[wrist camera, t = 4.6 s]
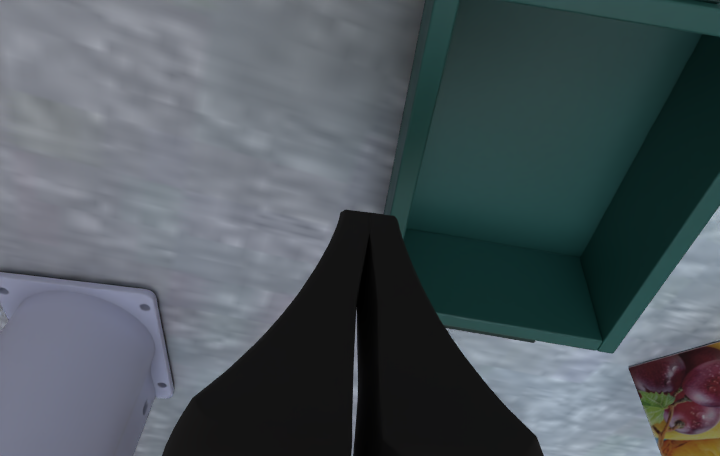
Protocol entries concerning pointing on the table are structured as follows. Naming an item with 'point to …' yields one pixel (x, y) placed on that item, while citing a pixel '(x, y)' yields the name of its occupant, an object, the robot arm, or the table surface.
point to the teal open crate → (557, 160)
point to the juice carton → (683, 400)
